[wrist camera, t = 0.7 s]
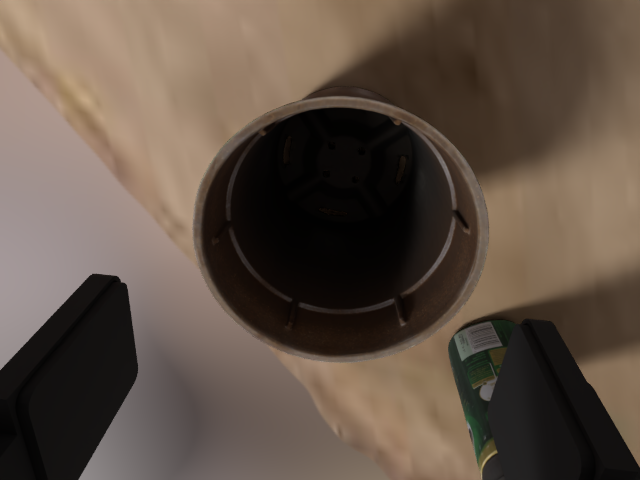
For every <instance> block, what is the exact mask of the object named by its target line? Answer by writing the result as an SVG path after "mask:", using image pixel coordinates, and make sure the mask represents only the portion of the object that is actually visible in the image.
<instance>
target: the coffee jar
mask: <svg viewBox="0 0 640 480" xmlns="http://www.w3.org/2000/svg"><path fill="white" fill-rule="evenodd" d="M515 325H516V324H515V323H513V322H511V321H507V320H490V321H484V322H479V323H476V324H473V325H470V326H468V327H466V328H464V329H462V330H460V331H459V332H457V333H456V334H455V335H454V336H453V337H452V339H451V340H450V342H449V347H448V352H449V358H450V362H451V367H452V371H453V374H454V378H455V382H456V385H457V389H458V392H459V396H460V399H461V403H462V407H463V411H464V414H465V418H466V422H467V426H468V429H469V433H470V437H471V441H472V444H473V448H474V451H475V455H476V459H477V463H478V467H479V470H480V474H481V478H482V480H505V477H504V473H503V470H502V466H501V463H500V460H499V456H498V453H497V449H496V446H495V443H494V439H493V436H492V432H491V429H490V426H489V422H488V405H489V402H490V399H491V396H492V392H493V389H494V386H495V383H496V380H497V377H498V374H499V371H500V368H501V365H502V362H503V359H504V355H505V352H506V349H507V346H508V343H509V340H510V337H511V334H512V331H513V328H514V326H515Z"/></svg>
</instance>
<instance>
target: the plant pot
mask: <svg viewBox="0 0 640 480" xmlns="http://www.w3.org/2000/svg"><path fill="white" fill-rule="evenodd" d="M288 136H291V137H292V143H291V149H290V164H289V165H285V164H284V163H283V151H284V145H285V142H286V138H287V137H288ZM329 142H334V143H335V145H336V147H335V149H329V148H328V143H329ZM360 147H363V148H364V149H365V154H364V155H360V154H359V153H358V150H359V148H360ZM401 156H405V157H406V165H405V169H404V173H403V176H402V179H401V181H400V182H399V184H398V185H396V184H395V181H394V180H395V177H396V175H397V171H398V167H399V166H398V165H399V158H400V157H401ZM324 170H328V171H329V172H330V176H329V177H324V176H323V174H322V173H323V171H324ZM353 176H357V177H358V178H359V181H358V182H357V183H353V182H352V177H353ZM324 207H325V208H327V210H328V209H332V210H336V211H340V212H341V211H344V212H347V214H348V215H345V216H334V215H328V214H325V213H322V212H320V211H319V209H320V208H324ZM192 230H193V245H194V251H195V256H196V259H197V263H198V266H199V269H200V272H201V274H202V276H203V279H204V281H205V283H206V285H207V287H208V289H209V290H210V292H211V294H212V295H213V297H214V298H215V300H216V301H217V303H218V304H219V305H220V306H221V308H222V309H223V310H224V311H225V312H226V313H227V314H228V316H229V317H230V318H231V319H232V320H233V321H235V322H236V323H237V324H238V325H239V326H240V327H242V328H243V329H244V330H245V331H246V332H248V333H249V334H251V335H252V336H253V337H255V338H257V339H258V340H260V341H261V342H263V343H265V344H267V345H269V346H271V347H273V348H275V349H277V350H280V351H282V352H285V353H287V354H290V355H293V356H297V357H301V358H304V359H310V360H315V361H322V362H336V363H350V362H361V361H367V360H374V359H378V358H382V357H386V356H390V355H393V354H397V353H399V352H402V351H404V350H406V349H409V348H411V347H413V346H415V345H417V344H419V343H421V342H423V341H424V340H426V339H427V338H429V337H430V336H432V335H433V334H435V333H436V332H437V331H439V330H440V329H441V328H442V327H443V326H445V325H446V324H447V323H448V322H449V321H450V320H451V319H452V318H453V317H454V316H455V315H456V314H457V313H458V312H459V310H460V309H461V308H462V307H463V306H464V304H465V303H466V302H467V300H468V299H469V297H470V295H471V294H472V292H473V290H474V288H475V287H476V284H477V282H478V280H479V278H480V276H481V273H482V270H483V267H484V263H485V259H486V254H487V249H488V241H489V221H488V213H487V208H486V204H485V200H484V196H483V193H482V190H481V188H480V185H479V183H478V181H477V179H476V177H475V175H474V173H473V171H472V169H471V167H470V165H469V164H468V162H467V161H466V159H465V158H464V157H463V156H462V154H461V153H460V152H459V150H458V149H457V148H456V147H455V146H454V145H453V144H452V143H451V142H450V141H449V140H448V139H447V138H446V137H445V136H444V135H443V134H442V133H440V132H439V131H438V130H437V129H436V128H434V127H433V126H432V125H430V124H429V123H427V122H426V121H424V120H423V119H421V118H420V117H418V116H416V115H414V114H412V113H410V112H408V111H406V110H404V109H402V108H399V107H397V106H395V105H394V104H392V103H391V102H390V101H389V100H387V99H386V98H384V97H382V96H381V95H378V94H376V93H374V92H371V91H368V90H365V89H361V88H355V87H333V88H328V89H324V90H320V91H318V92H315V93H313V94H311V95H309V96H307V97H306V98H304V99H302V100H300V101H297V102H293V103H290V104H287V105H284V106H282V107H279V108H277V109H275V110H272V111H270V112H267V113H266V114H264V115H262V116H260V117H258V118H256V119H255V120H253V121H252V122H250V123H249V124H248V125H246V126H245V127H244V128H242V129H241V130H240V131H238V132H237V133H236V134H235V135H234V136H233V137H232V138H230V139H229V140H228V141H227V143H226V144H225V145H224V146H223V147H222V148H221V149H220V150H219V152H218V153H217V155H216V156H215V157H214V159H213V160H212V162H211V163H210V165H209V167H208V168H207V170H206V172H205V174H204V176H203V178H202V181H201V183H200V186H199V189H198V192H197V195H196V200H195V205H194V215H193V228H192Z"/></svg>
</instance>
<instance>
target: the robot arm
mask: <svg viewBox="0 0 640 480" xmlns="http://www.w3.org/2000/svg"><path fill="white" fill-rule="evenodd" d="M137 373H138V363H137V356H136V348H135V341H134V334H133V326H132V319H131V311H130V304H129V296H128V289H127V285H126V284H125V283H121V281H120V279H119V277H117V276H111V275H102V274H92V275H90V276H89V277H88V278H87V279H86V280H85V282H84V283H83V284H82V285H81V286H80V287H79V288H78V289H77V290H76V291H75V292H74V293H73V294H72V295H71V296H70V297H69V298H68V299H67V301H66V302H65V303H64V304H63V305H62V306H61V307H60V308H59V309H58V310H57V311H56V312H55V313H54V314H53V315H52V316H51V317H50V318H49V319H48V320H47V322H46V323H45V324H44V325H43V326H42V327H41V328H40V329H39V330H38V331H37V332H36V333H35V334H34V335H33V336H32V337H31V338H30V339H29V341H28V342H27V343H26V344H25V345H24V346H23V347H22V348H21V349H20V350H19V351H18V352H17V353H16V354H15V355H14V356H13V357H12V359H10V361H9V362H8V363H7V364H6V365H5V366H4V367H3V368H2V369H1V370H0V480H78V479H79V477H80V476H81V474H82V472H83V471H84V469H85V467H86V465H87V464H88V462H89V460H90V459H91V457H92V455H93V453H94V452H95V450H96V448H97V446H98V445H99V443H100V441H101V439H102V438H103V436H104V434H105V433H106V431H107V429H108V427H109V426H110V424H111V422H112V420H113V419H114V417H115V415H116V414H117V412H118V410H119V408H120V407H121V405H122V403H123V401H124V399H125V398H126V396H127V395H128V393H129V391H130V389H131V388H132V386H133V384H134V382H135V380H136V377H137ZM488 422H489V426H490V429H491V432H492V436H493V439H494V443H495V446H496V449H497V453H498V456H499V460H500V463H501V466H502V470H503V473H504V477H505V480H640V467H639V466H638V464H637V462H636V461H635V459H634V457H633V455H632V454H631V452H630V450H629V448H628V447H627V445H626V443H625V442H624V440H623V438H622V436H621V435H620V433H619V431H618V430H617V428H616V426H615V424H614V423H613V421H612V419H611V418H610V416H609V414H608V412H607V411H606V409H605V407H604V406H603V404H602V402H601V400H600V399H599V397H598V395H597V393H596V392H595V390H594V389H593V387H592V386H591V385H590V384H589V383H587V381H586V379H585V378H584V376H583V374H582V372H581V371H580V369H579V367H578V365H577V364H576V362H575V360H574V358H573V357H572V355H571V353H570V351H569V350H568V348H567V346H566V345H565V343H564V341H563V339H562V338H561V336H560V334H559V332H558V331H557V329H556V327H555V325H554V324H553V323H552V322H550V321H544V320H534V319H525V320H524V321H523V322H522V324H516V325H515V326H514V328H513V331H512V334H511V337H510V340H509V343H508V346H507V349H506V352H505V355H504V359H503V362H502V365H501V368H500V371H499V374H498V377H497V380H496V383H495V386H494V389H493V392H492V396H491V399H490V402H489V405H488Z"/></svg>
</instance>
